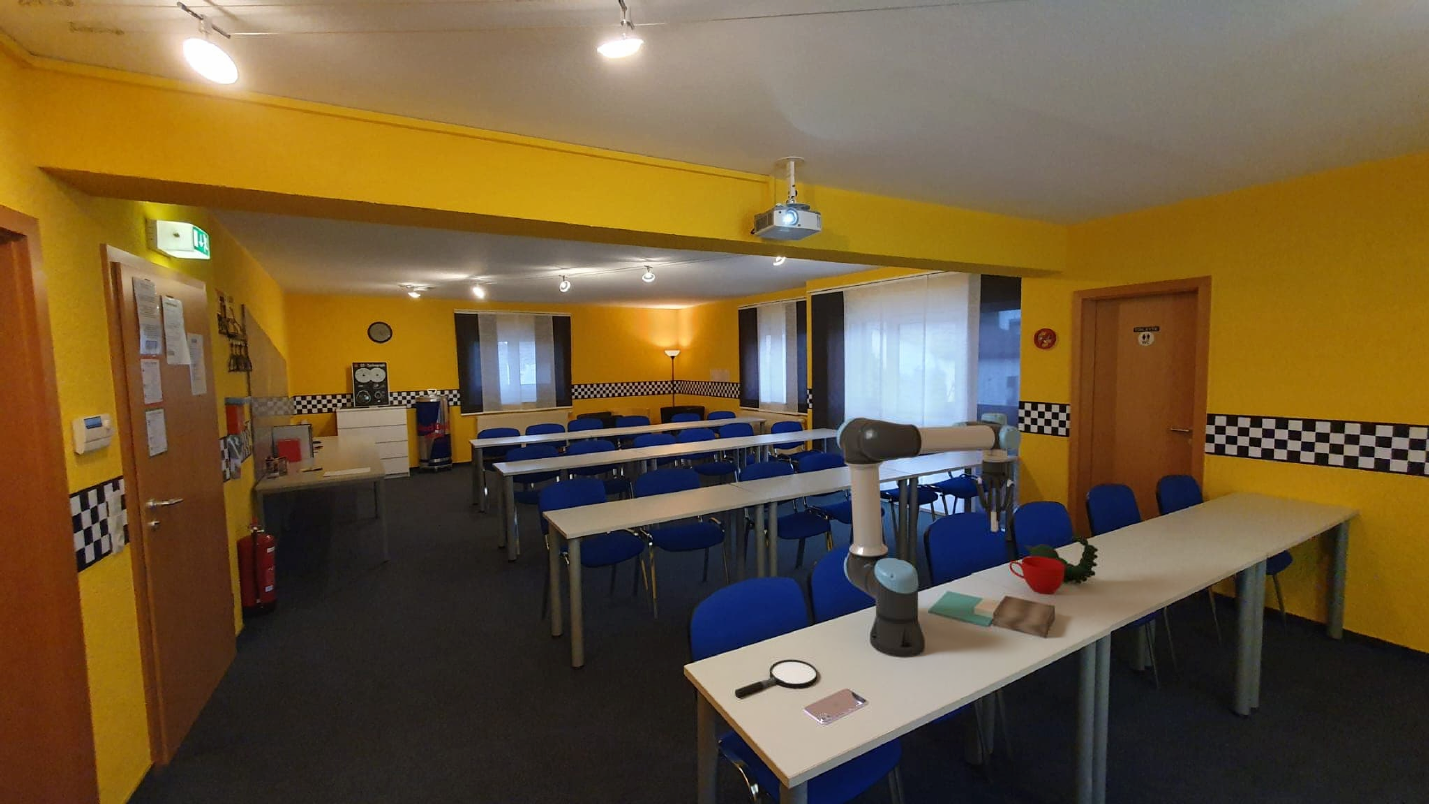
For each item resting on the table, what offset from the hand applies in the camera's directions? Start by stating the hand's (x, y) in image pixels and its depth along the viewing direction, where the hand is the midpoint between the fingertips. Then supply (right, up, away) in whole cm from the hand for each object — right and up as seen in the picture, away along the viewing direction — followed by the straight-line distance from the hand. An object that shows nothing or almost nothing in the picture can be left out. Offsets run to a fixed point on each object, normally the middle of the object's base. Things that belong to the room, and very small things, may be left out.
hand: (994, 530), depth 190 cm
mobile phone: (-64, -30, -54) cm, 90 cm away
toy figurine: (+33, -22, +20) cm, 45 cm away
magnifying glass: (-77, -30, -43) cm, 94 cm away
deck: (+2, -25, -14) cm, 29 cm away
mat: (-11, -25, -3) cm, 27 cm away
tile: (-5, -25, -7) cm, 26 cm away
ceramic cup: (+20, -23, +10) cm, 32 cm away
